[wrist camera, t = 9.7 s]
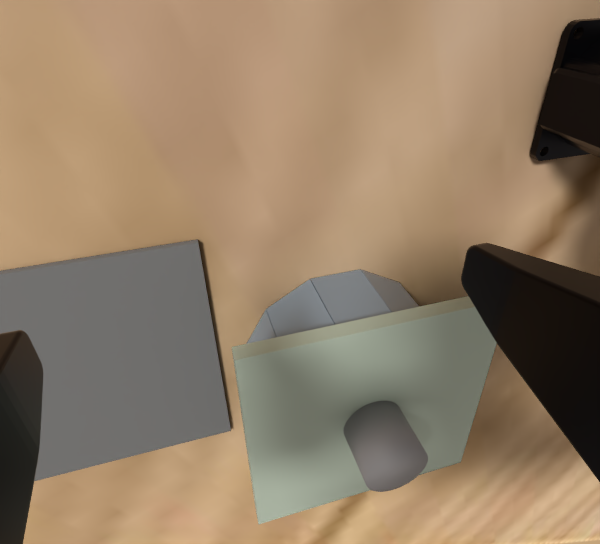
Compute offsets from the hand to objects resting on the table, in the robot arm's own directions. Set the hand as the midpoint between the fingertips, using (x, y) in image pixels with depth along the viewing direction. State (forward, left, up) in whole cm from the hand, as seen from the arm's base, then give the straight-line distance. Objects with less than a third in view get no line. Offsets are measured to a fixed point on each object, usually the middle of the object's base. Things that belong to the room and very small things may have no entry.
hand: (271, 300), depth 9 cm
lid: (-6, +14, -7) cm, 17 cm away
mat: (+8, +12, -12) cm, 19 cm away
